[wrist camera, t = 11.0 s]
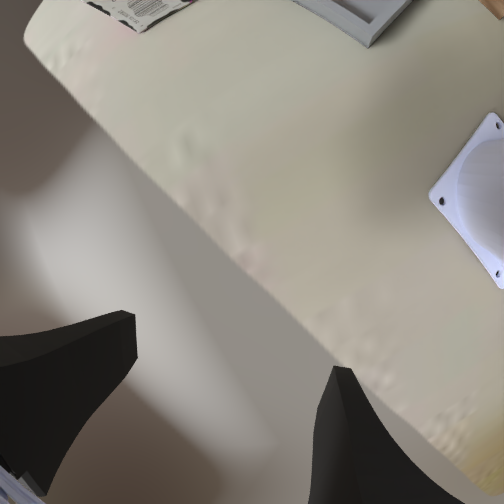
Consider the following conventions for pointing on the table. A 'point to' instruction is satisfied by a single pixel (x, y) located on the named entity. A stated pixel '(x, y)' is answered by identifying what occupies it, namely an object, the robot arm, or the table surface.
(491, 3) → the brown slotted block
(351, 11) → the tray
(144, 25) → the candy bar box
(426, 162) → the table surface
